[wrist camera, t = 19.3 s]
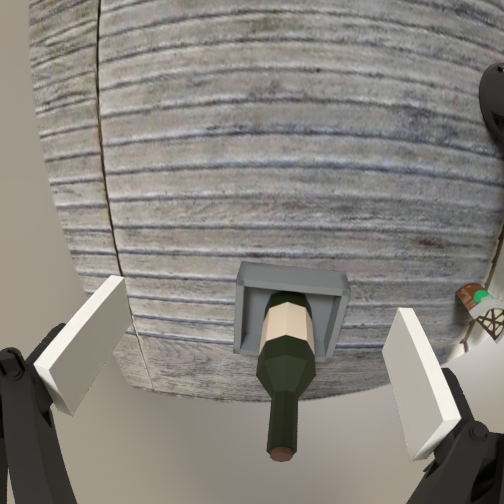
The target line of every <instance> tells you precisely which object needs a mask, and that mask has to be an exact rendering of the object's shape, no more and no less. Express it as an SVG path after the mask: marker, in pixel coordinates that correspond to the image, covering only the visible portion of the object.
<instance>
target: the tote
mask: <svg viewBox="0 0 504 504" xmlns="http://www.w3.org/2000/svg"><path fill="white" fill-rule="evenodd" d="M283 290H286V291H295V292H299V293H302V294H305V296H306V298H307V300H308V302H309V304H310V306H311V312H312V325H313V338H314V353H315V362H327V363H330V362H331V359H332V356H333V352H334V349H335V346H336V342H337V339H338V336H339V332H340V329H341V325H342V321H343V318H344V314H345V310H346V307H347V303H348V299H349V295H350V291H351V289H350V286H349V283H348V279H347V276H346V273H345V272H340V271H330V270H320V269H311V268H301V267H291V266H282V265H272V264H263V263H254V262H245V261H242V262H241V266H240V269H239V272H238V275H237V280H236V301H235V324H234V349H233V353H235V354H242V355H251V356H259V350H260V343H261V336H262V328H263V321H264V313H265V308H266V305H267V303H268V301H269V299H270V296H271V295H272V294H275V293H277V292H280V291H283Z"/></svg>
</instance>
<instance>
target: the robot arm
mask: <svg viewBox="0 0 504 504" xmlns="http://www.w3.org/2000/svg"><path fill="white" fill-rule="evenodd" d="M479 99H480V106H481V110H482V113H483V116H484V119H485V121H486V123H487V125H488V127H489V128H490V130H491V131H492V132H493V134H494V135H495V136H496V137H497V138H499V139H500V140H501V141H503V142H504V62H502V63H495V64H492V65H491V66H489V67H488V68H487V69H486V70H485V72H484V74H483V76H482V78H481V82H480V87H479ZM131 323H132V321H131V315H130V310H129V304H128V298H127V292H126V285H125V278H124V277H119V276H113V275H111V276H110V277H109V278H108V279H107V280H106V281H105V282H104V283H103V284H102V286H101V287H100V288H99V289H98V290H97V291H96V292H95V293H94V294H93V295H92V296H91V297H90V299H89V300H88V301H87V302H86V303H85V304H84V305H83V306H82V307H81V309H80V310H79V311H78V312H77V313H76V314H75V315H74V316H73V318H72V319H71V320H70V321H69V322H68V323H67V324H65V323H61V324H59V325H58V326H56V327H55V328H53V329H52V330H51V331H50V332H49V333H48V334H47V336H46V337H45V338H44V339H43V340H42V342H41V343H40V344H39V345H38V346H37V347H36V348H35V350H34V351H33V352H32V353H31V354H30V356H29V357H28V358H27V359H26V360H25V361H24V359H23V356H22V354H21V352H20V351H19V350H18V349H16V348H13V347H11V348H6V349H3V350H1V351H0V504H7V476H8V468H9V474H10V480H11V485H12V490H13V495H14V499H15V504H77V502H76V499H75V496H74V493H73V490H72V487H71V484H70V481H69V478H68V475H67V471H66V468H65V465H64V461H63V457H62V454H61V450H60V446H59V443H58V438H57V434H56V430H55V425H54V420H53V415H52V411H51V409H50V406H51V404H52V403H53V402H54V404H55V406H56V407H57V409H58V411H61V412H63V413H66V414H68V415H70V416H73V415H74V413H75V411H76V410H77V408H78V406H79V405H80V403H81V401H82V400H83V398H84V396H85V395H86V393H87V391H88V390H89V388H90V387H91V385H92V383H93V382H94V380H95V378H96V377H97V375H98V374H99V372H100V370H101V369H102V367H103V366H104V364H105V362H106V361H107V359H108V358H109V356H110V355H111V353H112V352H113V350H114V348H115V347H116V345H117V344H118V342H119V341H120V339H121V338H122V336H123V335H124V333H125V332H126V330H127V329H128V327H129V326H130V324H131ZM382 353H383V357H384V360H385V364H386V367H387V370H388V374H389V378H390V381H391V385H392V389H393V392H394V396H395V400H396V404H397V408H398V411H399V415H400V419H401V424H402V428H403V433H404V437H405V441H406V446H407V450H408V455H409V460H410V461H415V460H422V459H427V457H428V456H429V455H430V454H431V453H432V452H434V455H435V459H434V460H433V461H432V462H431V463H430V464H429V465H428V466H427V467H426V468H425V469H424V470H423V472H426V473H425V475H424V477H423V478H422V480H421V482H420V483H419V485H418V486H417V488H416V490H415V491H414V493H413V494H412V496H411V497H410V499H409V500H408V502H407V503H406V504H504V434H501V433H493V432H489V430H488V429H487V427H486V426H485V425H484V424H483V423H481V422H479V421H475V420H474V417H473V415H472V413H471V410H470V408H469V405H468V403H467V400H466V398H465V396H464V394H463V391H462V389H461V387H460V385H459V382H458V380H457V378H456V376H455V375H454V374H453V372H452V371H451V370H450V369H449V368H440V365H439V363H438V361H437V359H436V357H435V354H434V352H433V350H432V348H431V346H430V344H429V342H428V339H427V337H426V335H425V333H424V331H423V329H422V327H421V325H420V323H419V321H418V319H417V317H416V315H415V313H414V311H413V309H412V308H398V310H397V313H396V316H395V318H394V321H393V324H392V326H391V329H390V332H389V334H388V337H387V340H386V342H385V345H384V347H383V350H382Z"/></svg>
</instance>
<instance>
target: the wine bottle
mask: <svg viewBox="0 0 504 504" xmlns="http://www.w3.org/2000/svg"><path fill="white" fill-rule="evenodd" d="M256 376H257V378H258V379H259V381H260V382H261V384H262V385H263V386H264V388H265V389H266V391H267V392H268V394H269V395H270V397H271V398H272V400H271V411H270V422H269V431H268V441H267V452H268V453H269V454H270V458H271V459H273V460H274V461H279V462H284V461H289V460H290V459H291V458H292V456H293V455H294V454H295V453H296V452H297V422H298V421H297V420H298V398H299V397H300V396H301V395H302V393H303V392H304V391H305V390H306V388H307V387H308V386H309V384H310V383H311V381H312V380H313V378H314V377H315V376H316V370H315V353H314V338H313V325H312V312H311V306H310V304H309V302H308V300H307V298H306V296H305V294H302V293H299V292H295V291H286V290H283V291H280V292H277V293H275V294H272V295H271V296H270V299H269V301H268V303H267V305H266V308H265V313H264V321H263V328H262V336H261V343H260V350H259V358H258V365H257V372H256Z"/></svg>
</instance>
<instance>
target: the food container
mask: <svg viewBox="0 0 504 504" xmlns="http://www.w3.org/2000/svg"><path fill="white" fill-rule="evenodd" d="M456 294H457V295H458V297H459V298H460V300H461V301H462V302H463V304H464V305H465V307H466V308H467V310H468V311H469V313H470V315H471V316H472V317H473V319H474V320H475V319H476V320H477V321H478V322H479V323H480V325H481V326H482V327H483V328H484V329H485V330H486V331H487V332H488V333H489V334H490V336H491V337H492V338H493V339H494V341H495V342H496V344H497V343H498V342H499V341H500V340H501V338H502V337H503V335H504V303H503V302H502V301H500V300H498V299H494V298H493V297H492V296H491V295H490V294H489V293H488V292H487V291H486V290H485V289H484V288H483V287H482V286H481V285H479V284H477V283H470V284H467V285H465V286H463V287H461V288H460V289H459V290H458V291H457V292H456Z"/></svg>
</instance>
